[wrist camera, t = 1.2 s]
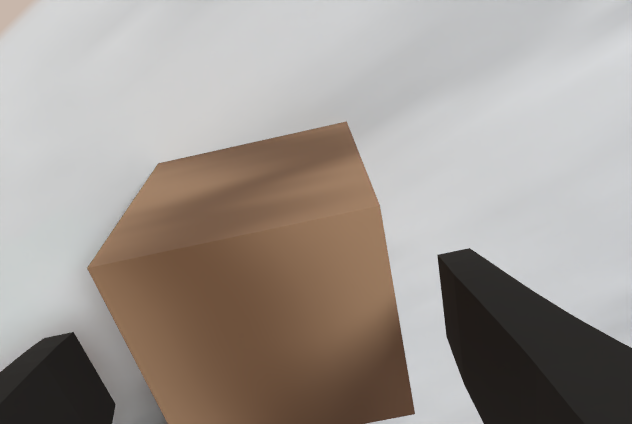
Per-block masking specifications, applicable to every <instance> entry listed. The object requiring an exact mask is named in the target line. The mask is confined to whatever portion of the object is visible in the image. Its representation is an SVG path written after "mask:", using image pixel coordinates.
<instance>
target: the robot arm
mask: <svg viewBox="0 0 632 424" xmlns="http://www.w3.org/2000/svg"><path fill="white" fill-rule="evenodd" d="M438 264H439V273H440V282H441V291H442V299H443V308H444V317H445V326H446V335H447V339H448V342H449V344H450V347H451V350H452V353H453V355H454V358H455V361H456V364H457V366H458V369H459V372H460V374H461V377H462V380H463V382H464V385H465V387H466V389H467V391H468V393H469V395H470V397H471V399H472V401H473V403H474V405H475V407H476V409H477V411H478V413H479V415H480V417H481V419H482V421H483V423H484V424H632V348H631V347H629V346H627V345H625V344H623V343H621V342H619V341H617V340H616V339H614V338H612V337H610V336H608V335H606V334H605V333H603V332H601V331H599V330H597V329H596V328H594V327H592V326H590V325H588V324H587V323H585V322H583V321H581V320H580V319H578V318H576V317H574V316H573V315H571V314H569V313H568V312H566V311H564V310H563V309H561V308H559V307H558V306H556V305H555V304H553V303H551V302H550V301H548V300H547V299H545V298H543V297H542V296H540V295H539V294H537V293H535V292H534V291H532V290H531V289H529V288H528V287H526V286H525V285H523V284H522V283H520V282H519V281H517V280H516V279H514V278H513V277H511V276H510V275H508V274H507V273H505V272H504V271H502V270H501V269H499V268H498V267H497V266H495V265H494V264H492V263H491V262H489V261H488V260H486V259H485V258H483V257H482V256H480V255H479V254H477V253H476V252H474V251H473V250H471V249H470V248H469V249H464V250H459V251H454V252H450V253H445V254H440V255H438ZM114 409H115V403H114V401H113V399H112V397H111V396H110V394H109V392H108V391H107V389H106V387H105V385H104V384H103V382H102V380H101V379H100V377H99V375H98V373H97V372H96V370H95V368H94V367H93V365H92V363H91V361H90V360H89V358H88V356H87V355H86V353H85V351H84V349H83V348H82V346H81V344H80V342H79V341H78V339H77V337H76V336H75V334H74V332H72V333H67V334H62V335H57V336H53V337H48V338H44V339H42V340H41V341H40V342H38V343H37V344H35V345H34V346H32V347H31V348H30V349H29V350H27V351H26V352H25V353H23V354H22V355H21V356H20V357H18V358H17V359H16V360H15V361H13V362H12V363H11V364H10V365H9V366H7V367H6V368H5V369H4V370H3V371H1V372H0V424H112V420H113V415H114Z"/></svg>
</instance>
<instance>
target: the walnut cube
mask: <svg viewBox="0 0 632 424" xmlns="http://www.w3.org/2000/svg"><path fill="white" fill-rule="evenodd" d="M87 269H88V271H89V273H90V275H91V276H92V278H93V280H94V282H95V284H96V286H97V288H98V290H99V292H100V294H101V296H102V298H103V300H104V302H105V303H106V305H107V307H108V309H109V311H110V313H111V315H112V317H113V319H114V321H115V323H116V325H117V327H118V329H119V331H120V332H121V334H122V336H123V338H124V340H125V342H126V344H127V346H128V348H129V350H130V352H131V354H132V356H133V358H134V359H135V361H136V363H137V365H138V367H139V369H140V371H141V373H142V375H143V377H144V379H145V381H146V383H147V385H148V386H149V388H150V390H151V392H152V394H153V396H154V398H155V400H156V402H157V404H158V406H159V408H160V410H161V412H162V413H163V415H164V417H165V419H166V421H167V423H168V424H365V423H371V422H376V421H381V420H386V419H391V418H397V417H402V416H407V415H412V414H415V412H414V406H413V400H412V394H411V388H410V382H409V376H408V370H407V364H406V358H405V352H404V346H403V340H402V334H401V328H400V323H399V317H398V311H397V305H396V299H395V293H394V287H393V281H392V275H391V269H390V263H389V257H388V251H387V245H386V240H385V234H384V228H383V222H382V216H381V210H380V205H379V202H378V200H377V197H376V195H375V192H374V190H373V187H372V185H371V182H370V180H369V177H368V175H367V172H366V170H365V167H364V164H363V162H362V159H361V157H360V154H359V152H358V149H357V147H356V144H355V142H354V139H353V137H352V134H351V132H350V129H349V127H348V124H347V122H343V123H338V124H334V125H329V126H325V127H320V128H316V129H311V130H307V131H302V132H298V133H293V134H289V135H284V136H280V137H275V138H271V139H266V140H262V141H257V142H253V143H248V144H244V145H239V146H235V147H230V148H226V149H222V150H217V151H213V152H208V153H204V154H199V155H195V156H190V157H186V158H181V159H177V160H172V161H168V162H163V163H159V164H158V165H157V166H156V168H155V169H154V171H153V172H152V173H151V175H150V176H149V178H148V179H147V181H146V182H145V184H144V185H143V187H142V188H141V190H140V191H139V193H138V194H137V196H136V197H135V198H134V200H133V201H132V203H131V204H130V206H129V207H128V209H127V210H126V212H125V213H124V215H123V216H122V218H121V219H120V221H119V222H118V223H117V225H116V226H115V228H114V229H113V231H112V232H111V234H110V235H109V237H108V238H107V240H106V241H105V243H104V244H103V246H102V247H101V249H100V250H99V251H98V253H97V254H96V256H95V257H94V259H93V260H92V262H91V263H90V265H89V266H88V268H87Z"/></svg>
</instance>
